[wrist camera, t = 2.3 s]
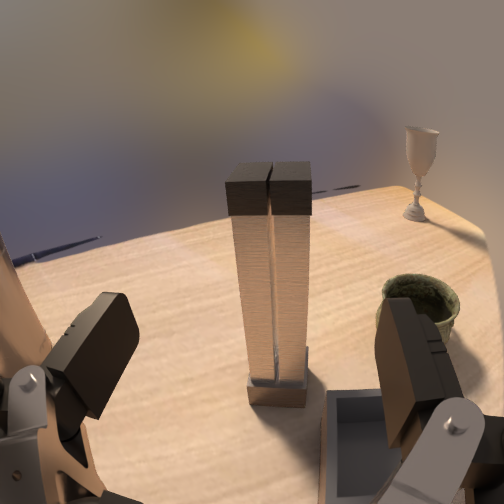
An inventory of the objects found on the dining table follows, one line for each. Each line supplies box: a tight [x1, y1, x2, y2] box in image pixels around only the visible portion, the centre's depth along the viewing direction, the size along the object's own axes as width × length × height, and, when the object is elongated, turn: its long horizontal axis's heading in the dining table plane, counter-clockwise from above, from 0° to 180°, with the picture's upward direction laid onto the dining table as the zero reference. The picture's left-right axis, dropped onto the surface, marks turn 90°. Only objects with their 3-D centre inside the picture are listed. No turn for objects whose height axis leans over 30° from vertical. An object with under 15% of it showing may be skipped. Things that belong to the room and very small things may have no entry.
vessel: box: [376, 274, 460, 344], centre depth 29 cm, size 12×9×6 cm
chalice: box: [403, 126, 439, 221], centre depth 54 cm, size 7×7×18 cm
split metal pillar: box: [225, 162, 312, 408], centre depth 23 cm, size 5×5×20 cm
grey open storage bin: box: [318, 389, 462, 504], centre depth 18 cm, size 9×9×5 cm
